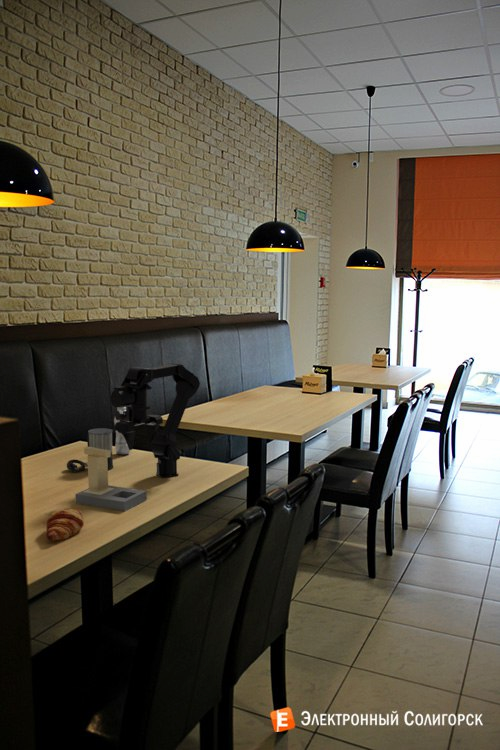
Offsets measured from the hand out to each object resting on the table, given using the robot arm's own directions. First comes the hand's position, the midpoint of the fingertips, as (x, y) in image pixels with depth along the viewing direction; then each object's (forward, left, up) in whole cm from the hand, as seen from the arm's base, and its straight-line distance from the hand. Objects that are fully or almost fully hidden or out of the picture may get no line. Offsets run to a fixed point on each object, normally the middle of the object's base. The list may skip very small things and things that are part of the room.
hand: (139, 447), depth 227 cm
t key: (+18, +11, -10) cm, 23 cm away
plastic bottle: (-7, -43, -13) cm, 45 cm away
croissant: (+34, +34, -14) cm, 50 cm away
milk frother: (+11, -27, -13) cm, 32 cm away
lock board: (+15, +15, -13) cm, 25 cm away
